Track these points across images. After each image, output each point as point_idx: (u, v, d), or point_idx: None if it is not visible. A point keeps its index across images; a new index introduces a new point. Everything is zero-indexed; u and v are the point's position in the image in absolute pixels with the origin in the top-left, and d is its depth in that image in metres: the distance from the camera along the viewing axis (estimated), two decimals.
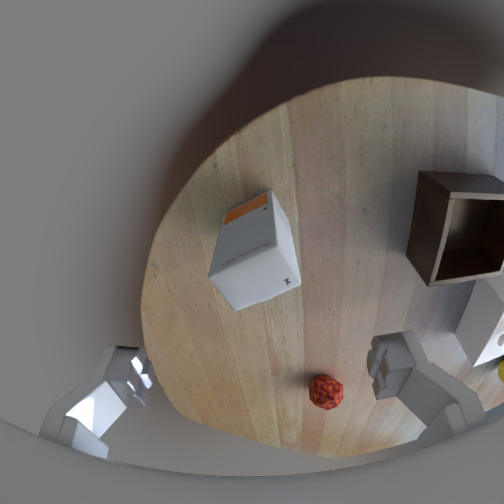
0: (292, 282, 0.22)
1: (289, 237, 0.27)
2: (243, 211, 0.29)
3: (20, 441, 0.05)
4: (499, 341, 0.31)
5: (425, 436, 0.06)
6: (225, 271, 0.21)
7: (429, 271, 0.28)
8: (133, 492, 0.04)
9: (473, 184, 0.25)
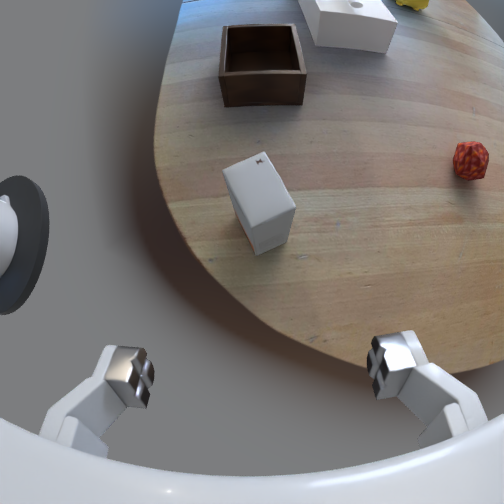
0: (260, 157, 0.24)
1: None
2: None
3: (20, 441, 0.05)
4: (359, 6, 0.33)
5: (425, 436, 0.06)
6: (245, 211, 0.23)
7: (292, 76, 0.33)
8: (133, 492, 0.04)
9: None
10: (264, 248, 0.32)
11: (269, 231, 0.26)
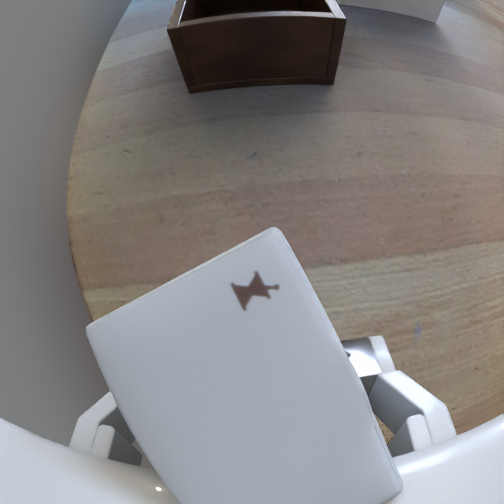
0: (258, 265, 0.05)
1: None
2: None
3: (20, 441, 0.05)
4: None
5: (390, 446, 0.06)
6: None
7: (318, 23, 0.14)
8: (133, 492, 0.04)
9: None
10: None
11: None
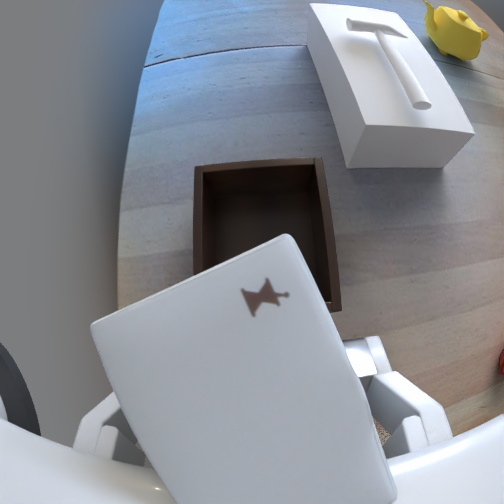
0: (270, 272, 0.05)
1: None
2: None
3: (20, 441, 0.05)
4: (425, 107, 0.23)
5: (387, 447, 0.06)
6: None
7: None
8: (133, 492, 0.04)
9: None
10: None
11: None
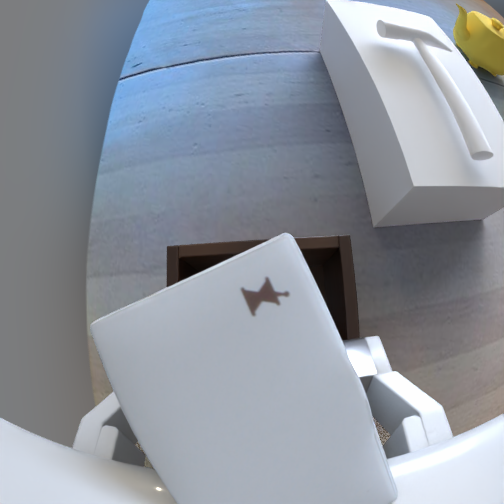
0: (269, 271, 0.05)
1: None
2: None
3: (20, 441, 0.05)
4: (485, 157, 0.15)
5: (387, 447, 0.06)
6: None
7: None
8: (133, 492, 0.04)
9: None
10: None
11: None
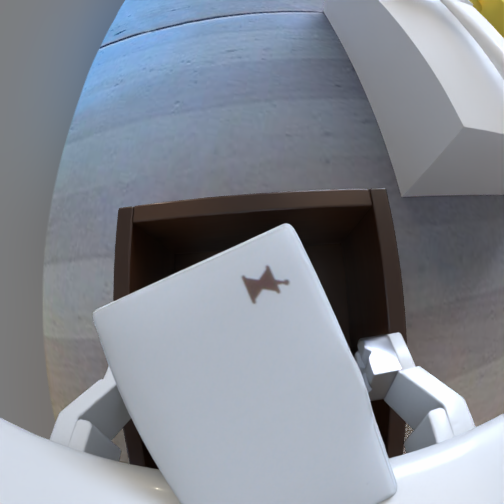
0: (270, 260, 0.05)
1: None
2: None
3: (21, 441, 0.05)
4: None
5: (411, 440, 0.06)
6: None
7: None
8: (133, 492, 0.04)
9: None
10: None
11: None
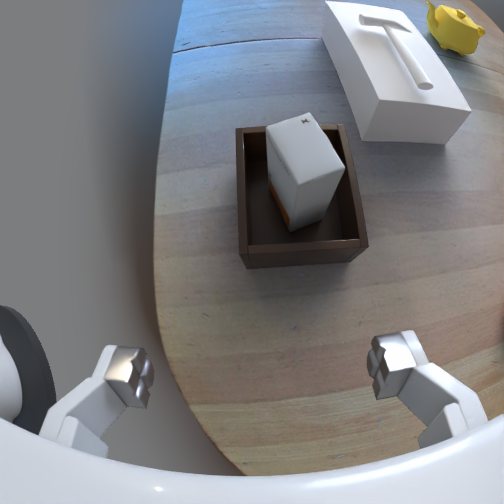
0: (306, 117, 0.22)
1: None
2: (279, 202, 0.30)
3: (20, 441, 0.05)
4: (428, 87, 0.26)
5: (425, 436, 0.06)
6: (291, 168, 0.21)
7: (348, 249, 0.25)
8: (133, 492, 0.04)
9: None
10: (300, 222, 0.29)
11: (312, 196, 0.23)
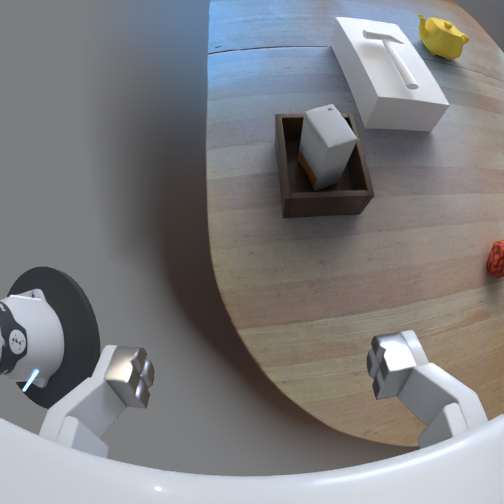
0: (330, 106, 0.31)
1: None
2: (308, 168, 0.39)
3: (20, 441, 0.05)
4: (414, 87, 0.35)
5: (425, 436, 0.06)
6: (323, 137, 0.30)
7: (360, 197, 0.35)
8: (133, 492, 0.04)
9: (280, 169, 0.39)
10: (323, 182, 0.39)
11: (335, 159, 0.33)
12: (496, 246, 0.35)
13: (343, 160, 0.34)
